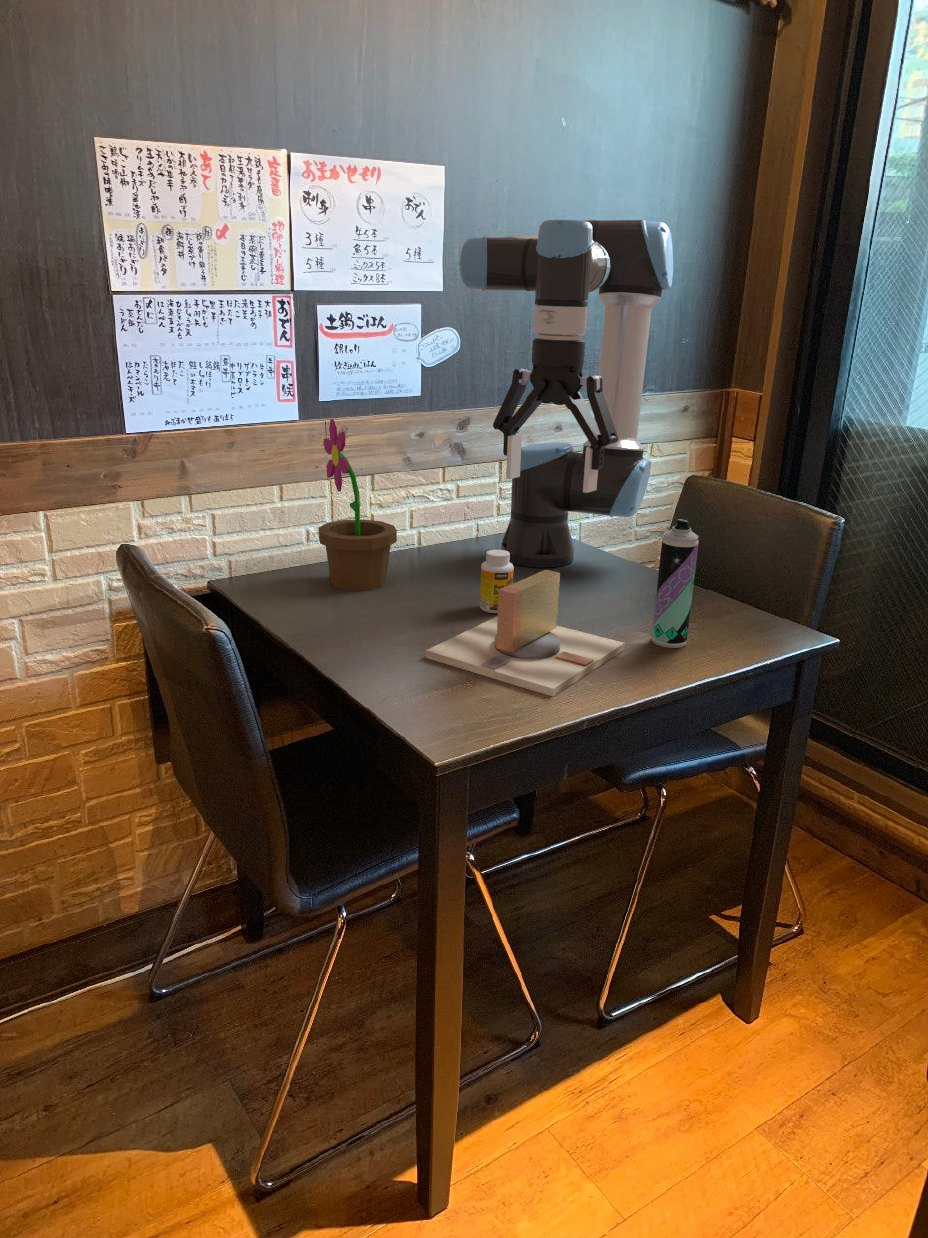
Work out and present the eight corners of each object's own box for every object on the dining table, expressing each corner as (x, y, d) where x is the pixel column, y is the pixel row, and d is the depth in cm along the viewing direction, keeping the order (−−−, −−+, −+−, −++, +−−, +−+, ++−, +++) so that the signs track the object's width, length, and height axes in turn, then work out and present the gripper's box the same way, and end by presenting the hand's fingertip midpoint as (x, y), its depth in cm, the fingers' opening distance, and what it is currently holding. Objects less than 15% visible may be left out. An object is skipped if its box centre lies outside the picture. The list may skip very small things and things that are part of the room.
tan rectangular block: (541, 625, 147) (545, 569, 144) (556, 629, 146) (560, 572, 142) (496, 649, 137) (498, 589, 134) (511, 654, 136) (514, 593, 132)
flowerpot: (308, 575, 176) (303, 415, 165) (379, 567, 182) (378, 412, 172) (334, 598, 164) (331, 426, 154) (409, 589, 170) (410, 423, 160)
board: (505, 618, 157) (506, 605, 156) (624, 650, 145) (625, 635, 144) (425, 657, 140) (426, 642, 139) (552, 696, 128) (553, 680, 127)
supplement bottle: (491, 616, 157) (493, 558, 154) (473, 607, 162) (475, 550, 158) (518, 611, 160) (521, 554, 157) (499, 602, 165) (501, 546, 161)
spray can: (645, 637, 150) (657, 516, 143) (673, 633, 152) (687, 514, 145) (664, 649, 146) (677, 525, 139) (693, 645, 147) (708, 522, 141)
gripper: (473, 332, 137) (469, 475, 144) (624, 343, 123) (611, 501, 131) (502, 331, 143) (496, 469, 150) (650, 341, 129) (636, 492, 136)
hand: (550, 484), depth 140 cm, fingers open, 13 cm apart
